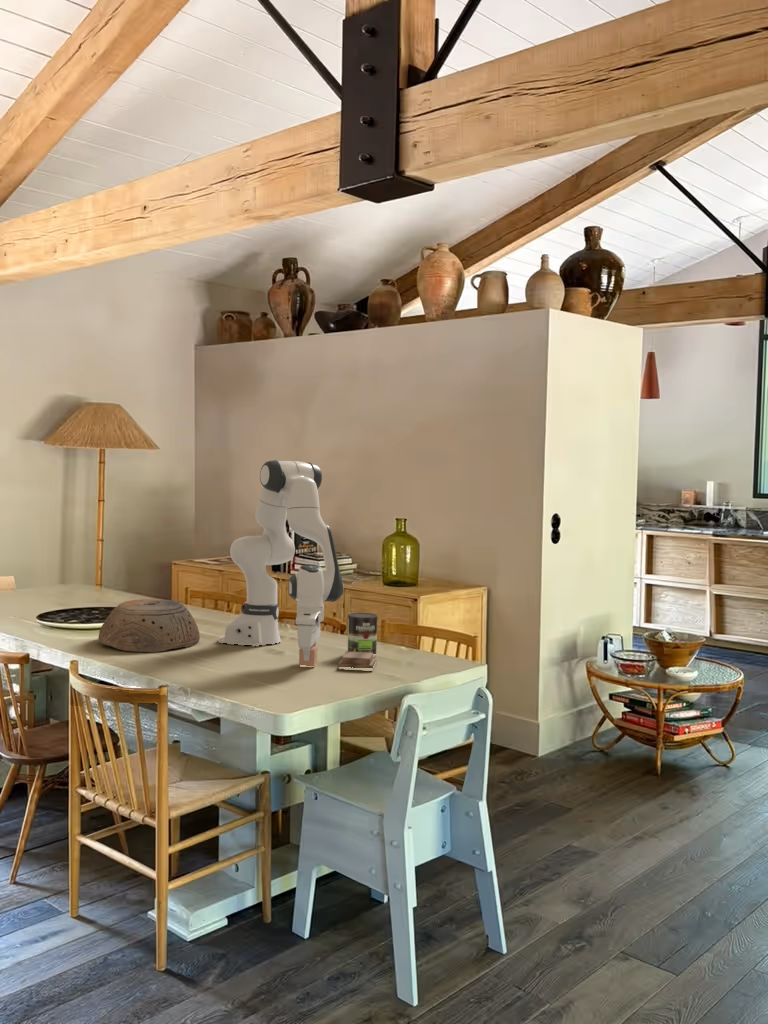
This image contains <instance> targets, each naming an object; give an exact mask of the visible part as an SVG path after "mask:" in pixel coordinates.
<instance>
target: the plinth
mask: <svg viewBox="0 0 768 1024" xmlns="http://www.w3.org/2000/svg"><path fill="white" fill-rule="evenodd" d="M375 662H376V663H377V658H376V657H373V653H367V652H348V651H345V653H343V655H342V657H341V660H340V661H338V664H337V665H338V667H351V668H352V667H353V668H373V666H374V664H375ZM338 667H337V668H338Z"/></svg>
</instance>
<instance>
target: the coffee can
mask: <svg viewBox="0 0 768 1024" xmlns="http://www.w3.org/2000/svg"><path fill="white" fill-rule="evenodd" d="M378 618H379V616H378V614H375V613H370V612H351V613H349V614H348V615H347V619H348V623H347V624H348V625H347V647H346V648H347V651H348V652H367V653H373V654H376V655H377V642H378V641H377V640H378V637H377V636H378Z"/></svg>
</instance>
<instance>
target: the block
mask: <svg viewBox="0 0 768 1024" xmlns="http://www.w3.org/2000/svg"><path fill="white" fill-rule="evenodd" d="M298 654H299V655H298V657H299V658H298V659H299V660H298V666H299V665H306V666H315V665H316V663H317V664H318V646H316V647H310V659H309V661H305V660H304V654H303V649H301V648H299V653H298ZM316 666H317V665H316Z"/></svg>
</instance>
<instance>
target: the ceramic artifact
mask: <svg viewBox="0 0 768 1024" xmlns="http://www.w3.org/2000/svg"><path fill="white" fill-rule="evenodd" d="M200 638H201V637H200V629H199V627H198V625H197V622H196V620H195V618H194V617H193V615H192V613H191V612H190V610H189V609H188V608H187V607H186V605H184V604H183V603H181V602H180V601H176V600H169V599H159V598H143V599H131V600H127V601H123V602H121V603H119V604H118V605H117V606H115V608H114V609H112V611H111V612H110V613H109V615H108V616H107V617H106V619H105V620H104V622H103V623H102V625H101V627H100V628H99V632H98V641H99V643H101V644H102V645H105V646H107V647H110V648H113V649H117V650H119V651H120V650H121V651H123V652H134V653H160V652H159V651H163V652H164V651H168V650H174V649H183V648H182V647H187V648H189V647H188V646H191V647H193V646H192V645H194V646H195V645H196V644H198V642H200Z"/></svg>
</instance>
